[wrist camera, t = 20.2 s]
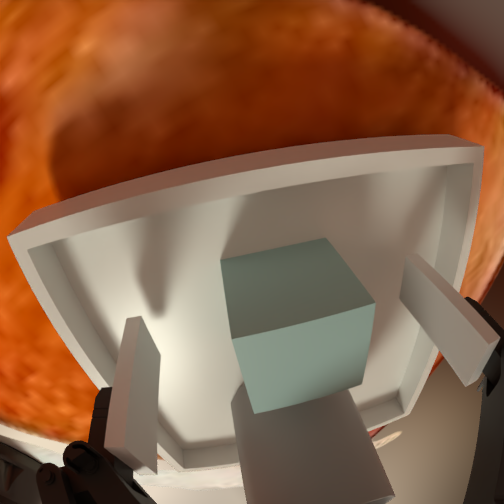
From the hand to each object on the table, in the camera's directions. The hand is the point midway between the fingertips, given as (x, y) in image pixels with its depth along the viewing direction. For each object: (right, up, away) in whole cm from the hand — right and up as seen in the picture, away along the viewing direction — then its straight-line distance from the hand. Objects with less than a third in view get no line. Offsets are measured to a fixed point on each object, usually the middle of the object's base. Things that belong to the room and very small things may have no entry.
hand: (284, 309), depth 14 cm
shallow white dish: (0, -3, +6) cm, 6 cm away
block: (0, +1, +1) cm, 1 cm away
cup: (+1, -8, +6) cm, 10 cm away
